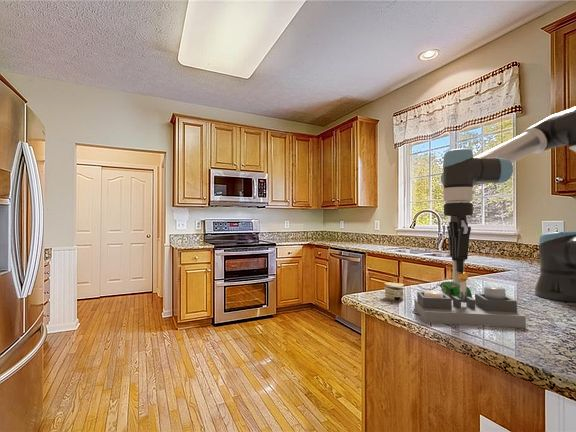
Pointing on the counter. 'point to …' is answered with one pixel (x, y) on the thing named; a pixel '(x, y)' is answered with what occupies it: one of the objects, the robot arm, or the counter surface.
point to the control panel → (469, 311)
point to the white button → (433, 294)
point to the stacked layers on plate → (394, 291)
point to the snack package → (453, 289)
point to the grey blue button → (494, 293)
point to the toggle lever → (463, 286)
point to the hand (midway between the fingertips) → (458, 282)
